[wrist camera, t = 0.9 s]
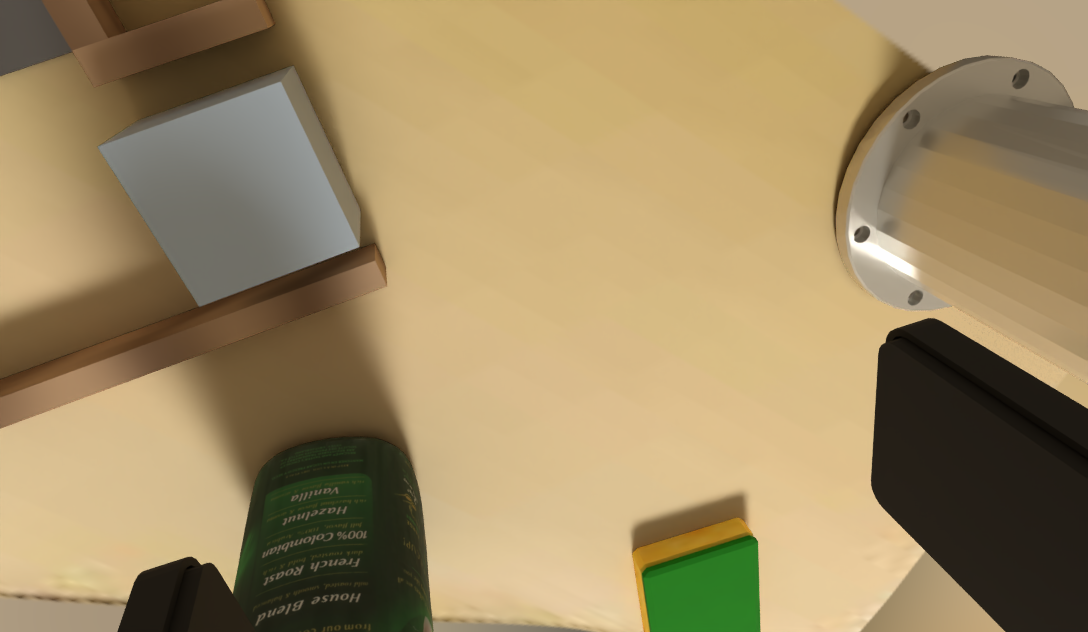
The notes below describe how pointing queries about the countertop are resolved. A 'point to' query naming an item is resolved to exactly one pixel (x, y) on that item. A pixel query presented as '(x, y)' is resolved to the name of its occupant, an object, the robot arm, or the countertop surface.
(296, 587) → the coffee jar
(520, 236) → the countertop surface
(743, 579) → the dish sponge
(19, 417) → the brown wooden open frame
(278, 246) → the slate block
